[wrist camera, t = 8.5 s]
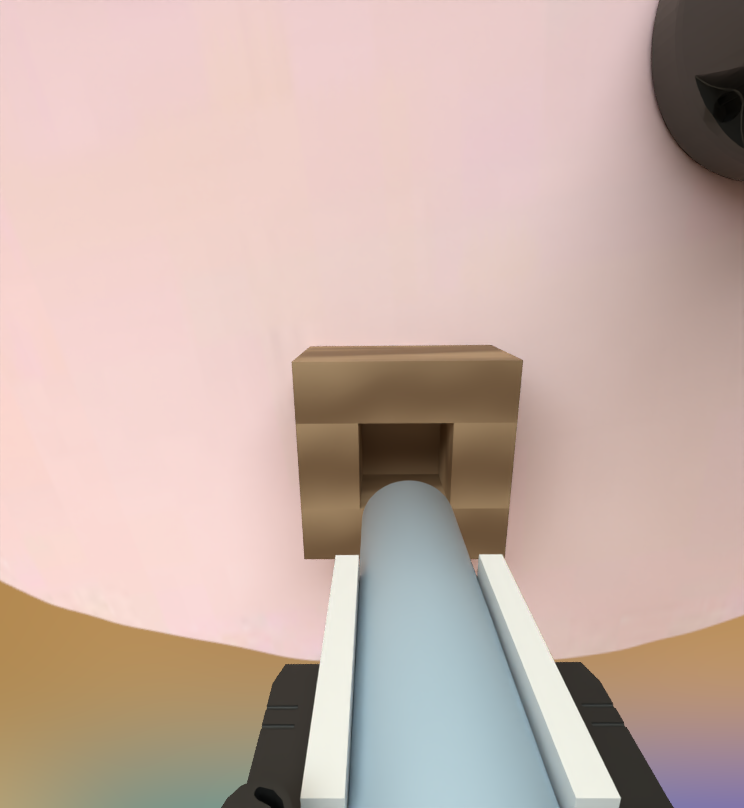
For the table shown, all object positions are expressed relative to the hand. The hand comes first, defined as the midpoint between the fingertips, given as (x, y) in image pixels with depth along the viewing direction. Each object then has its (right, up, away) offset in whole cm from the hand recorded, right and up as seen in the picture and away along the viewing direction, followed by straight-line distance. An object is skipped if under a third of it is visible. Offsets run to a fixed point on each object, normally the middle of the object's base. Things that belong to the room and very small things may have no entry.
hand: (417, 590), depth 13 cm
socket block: (0, +4, +15) cm, 15 cm away
